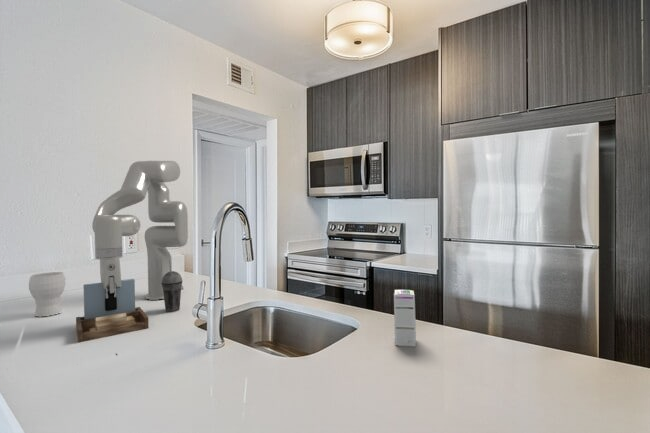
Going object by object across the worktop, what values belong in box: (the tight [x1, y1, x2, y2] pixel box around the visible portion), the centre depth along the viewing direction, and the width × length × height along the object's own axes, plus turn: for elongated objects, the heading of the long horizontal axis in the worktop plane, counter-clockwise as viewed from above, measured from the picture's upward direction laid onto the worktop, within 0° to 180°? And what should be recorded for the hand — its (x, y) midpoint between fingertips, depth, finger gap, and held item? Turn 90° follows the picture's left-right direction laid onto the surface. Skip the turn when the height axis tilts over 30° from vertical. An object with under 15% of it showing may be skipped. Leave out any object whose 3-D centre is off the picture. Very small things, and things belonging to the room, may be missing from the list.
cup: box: [28, 271, 66, 317], centre depth 126 cm, size 11×11×15 cm
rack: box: [75, 306, 150, 343], centre depth 107 cm, size 18×15×4 cm
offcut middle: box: [95, 316, 135, 331], centre depth 105 cm, size 10×4×2 cm, turn 131°
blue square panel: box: [83, 278, 136, 320], centre depth 110 cm, size 14×2×14 cm, turn 128°
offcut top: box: [96, 313, 127, 326], centre depth 104 cm, size 8×4×2 cm, turn 124°
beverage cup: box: [161, 259, 183, 313], centre depth 125 cm, size 7×7×20 cm
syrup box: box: [393, 289, 417, 348], centre depth 95 cm, size 6×6×14 cm
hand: (110, 308), depth 111 cm, fingers closed on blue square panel, 2 cm apart
